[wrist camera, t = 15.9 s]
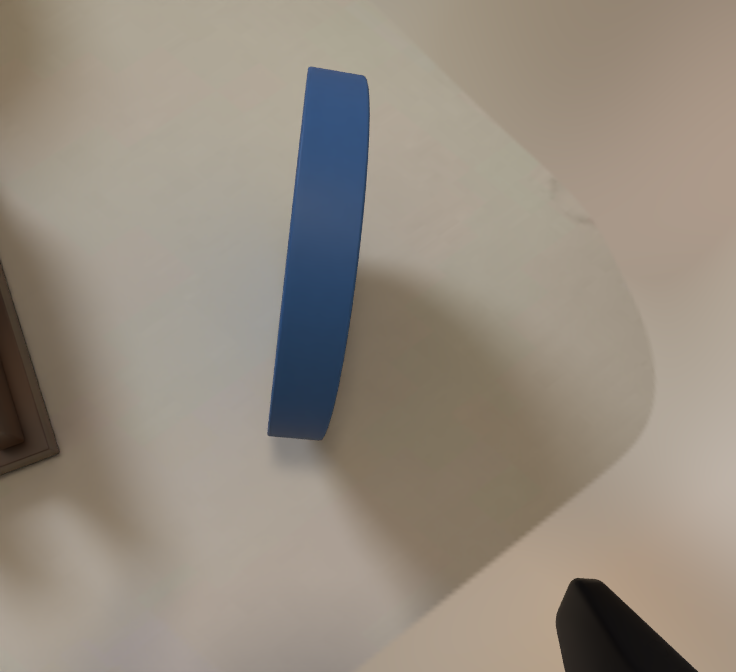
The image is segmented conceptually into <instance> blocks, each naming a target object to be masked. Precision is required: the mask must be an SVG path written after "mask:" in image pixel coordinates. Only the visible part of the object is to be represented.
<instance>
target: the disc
mask: <svg viewBox="0 0 736 672" xmlns="http://www.w3.org/2000/svg"><path fill="white" fill-rule="evenodd" d="M369 120H370V107H369V88H368V83H367V79H366V78H365V76H363V75H357V74H351V73H345V72H339V71H333V70H328V69H322V68H316V67H309V68H308V73H307V81H306V90H305V99H304V107H303V116H302V125H301V134H300V143H299V152H298V160H297V169H296V178H295V187H294V196H293V205H292V214H291V223H290V232H289V241H288V250H287V259H286V268H285V277H284V286H283V295H282V304H281V313H280V322H279V331H278V340H277V349H276V358H275V367H274V376H273V385H272V395H271V404H270V413H269V422H268V432H267V434H268V436H274V437H286V438H297V439H309V440H322V439H323V437H324V436H325V434H326V431H327V429H328V426H329V423H330V420H331V416H332V412H333V409H334V405H335V400H336V396H337V391H338V387H339V382H340V377H341V371H342V366H343V361H344V355H345V349H346V343H347V337H348V331H349V324H350V318H351V311H352V305H353V297H354V290H355V283H356V275H357V267H358V259H359V250H360V242H361V232H362V223H363V213H364V202H365V191H366V179H367V165H368V148H369Z"/></svg>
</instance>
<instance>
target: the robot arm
mask: <svg viewBox="0 0 736 672" xmlns="http://www.w3.org/2000/svg"><path fill="white" fill-rule="evenodd" d="M556 629H557V635H558V639H559V644H560V649H561V654H562V659H563V663H564V668H565V672H698V671H697V670H696V669H694V667H692V666H691V665H690V664H689V663H688V662H687V661H686V660H685V659H684V658H683V657H682V656H681V655H680V654H679V653H677V652H676V651H675V650H674V649H673V648H672V647H671V646H670V645H669V644H668V643H667V642H666V641H665V640H664V639H663V638H662V637H660V636H659V635H658V634H657V633H656V632H655V631H654V630H653V629H652V628H651V627H650V626H649V625H648V624H647V623H646V622H645V621H643V620H642V619H641V618H640V617H639V616H638V615H637V614H636V613H635V612H634V611H633V610H632V609H631V608H630V607H629V606H627V605H626V604H625V603H624V602H623V601H622V600H621V599H620V598H619V597H618V596H617V595H616V594H615V593H614V592H613V591H611V590H610V589H609V588H608V587H607V586H606V585H605V584H604V583H603V582H601V581H599V580H596V579H584V578H576V579H574V580H572V581H571V582H570V584H569V586H568V589H567V591H566V593H565V595H564V598H563V600H562V602H561V605H560V607H559V609H558V612H557V616H556Z"/></svg>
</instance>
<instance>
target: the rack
mask: <svg viewBox="0 0 736 672" xmlns="http://www.w3.org/2000/svg"><path fill="white" fill-rule="evenodd" d="M58 453H59V450H58V446H57V443H56V440H55V437H54V434H53V430H52V427H51V424H50V421H49V418H48V414H47V411H46V408H45V405H44V401H43V398H42V395H41V392H40V389H39V385H38V382H37V379H36V376H35V373H34V369H33V366H32V363H31V360H30V357H29V353H28V350H27V347H26V344H25V341H24V337H23V334H22V331H21V328H20V324H19V321H18V318H17V315H16V312H15V308H14V305H13V302H12V299H11V296H10V292H9V289H8V286H7V283H6V280H5V276H4V273H3V270H2V267H1V264H0V475H2V474H5V473H8V472H10V471H13V470H16V469H18V468H21V467H24V466H26V465H29V464H32V463H35V462H37V461H40V460H43V459H45V458H48V457H51V456H53V455H56V454H58Z"/></svg>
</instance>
